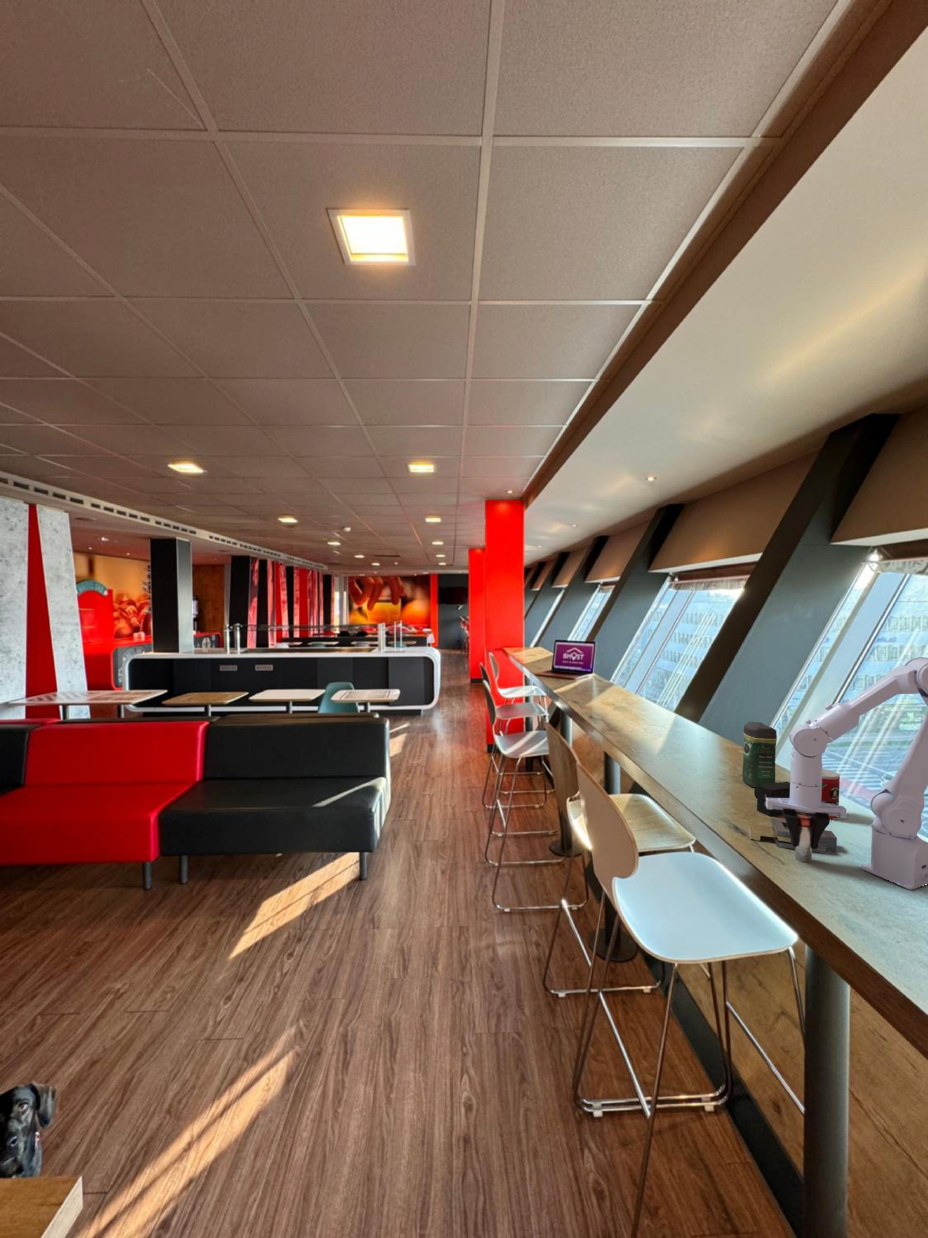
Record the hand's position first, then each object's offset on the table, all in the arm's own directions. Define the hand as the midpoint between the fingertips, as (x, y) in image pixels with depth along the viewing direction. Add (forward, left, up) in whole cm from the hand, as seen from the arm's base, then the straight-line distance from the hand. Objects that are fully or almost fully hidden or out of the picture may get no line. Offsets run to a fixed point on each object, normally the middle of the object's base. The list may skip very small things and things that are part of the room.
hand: (803, 846), depth 120 cm
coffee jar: (+40, -34, -3) cm, 53 cm away
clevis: (+7, -6, -3) cm, 10 cm away
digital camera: (+23, -20, -3) cm, 30 cm away
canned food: (+17, -29, -3) cm, 34 cm away
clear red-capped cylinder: (0, 0, -3) cm, 3 cm away
